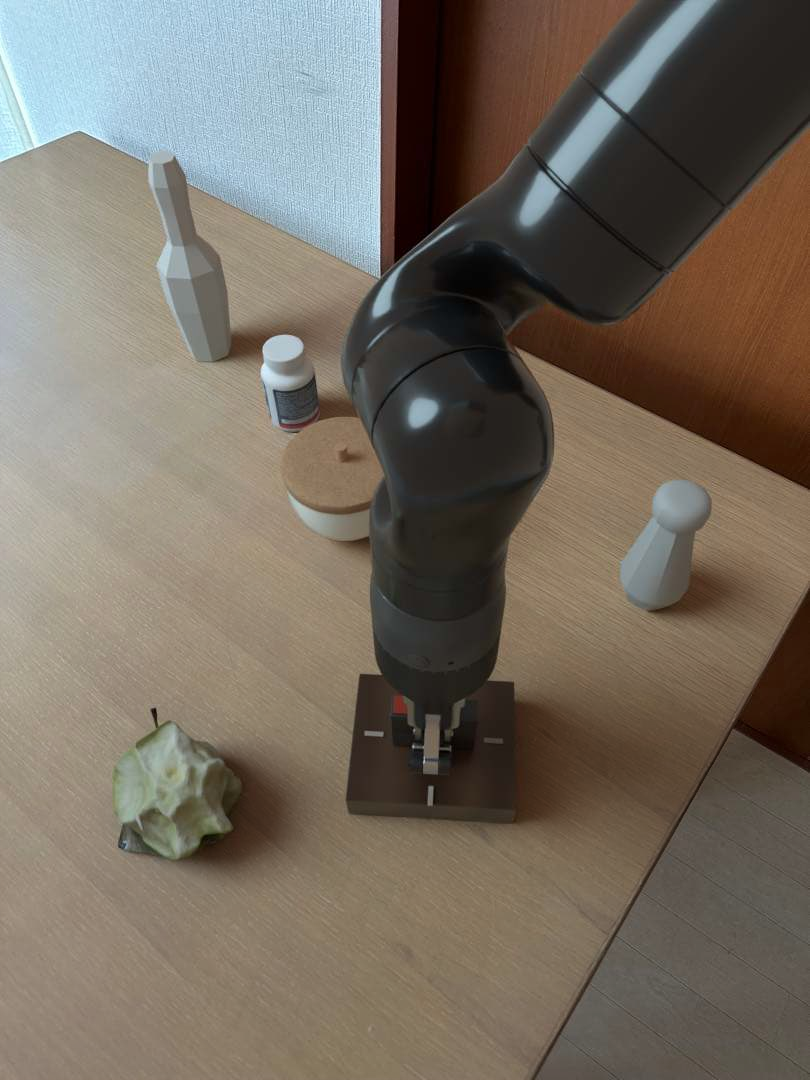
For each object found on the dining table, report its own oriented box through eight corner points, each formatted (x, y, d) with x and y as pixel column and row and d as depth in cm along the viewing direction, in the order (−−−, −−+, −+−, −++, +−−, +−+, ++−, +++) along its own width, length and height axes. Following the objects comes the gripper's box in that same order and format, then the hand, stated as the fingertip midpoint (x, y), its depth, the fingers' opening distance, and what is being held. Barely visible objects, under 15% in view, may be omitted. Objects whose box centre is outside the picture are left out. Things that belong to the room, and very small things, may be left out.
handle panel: (510, 697, 66) (514, 679, 64) (512, 825, 60) (516, 810, 58) (361, 689, 67) (359, 671, 65) (348, 815, 61) (345, 800, 58)
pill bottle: (331, 414, 86) (322, 346, 79) (293, 441, 84) (281, 374, 77) (296, 390, 88) (285, 322, 81) (259, 416, 86) (244, 348, 79)
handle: (474, 729, 62) (478, 697, 57) (474, 750, 61) (477, 719, 56) (393, 725, 62) (391, 693, 58) (392, 745, 61) (390, 714, 57)
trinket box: (377, 458, 82) (372, 388, 75) (425, 536, 76) (425, 467, 69) (275, 495, 80) (260, 425, 72) (316, 578, 74) (304, 511, 66)
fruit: (139, 758, 65) (125, 696, 60) (257, 773, 65) (254, 712, 60) (97, 871, 58) (77, 812, 53) (228, 888, 58) (222, 831, 53)
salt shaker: (616, 559, 74) (648, 460, 64) (681, 569, 74) (724, 471, 63) (612, 613, 71) (645, 518, 61) (681, 624, 70) (726, 530, 60)
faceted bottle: (184, 371, 90) (127, 180, 73) (179, 335, 94) (124, 144, 77) (242, 362, 91) (199, 170, 74) (235, 326, 95) (193, 135, 77)
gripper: (503, 726, 43) (483, 833, 57) (502, 519, 51) (485, 657, 65) (359, 718, 43) (374, 827, 57) (381, 514, 52) (390, 652, 65)
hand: (433, 736), depth 61 cm, fingers closed on handle
